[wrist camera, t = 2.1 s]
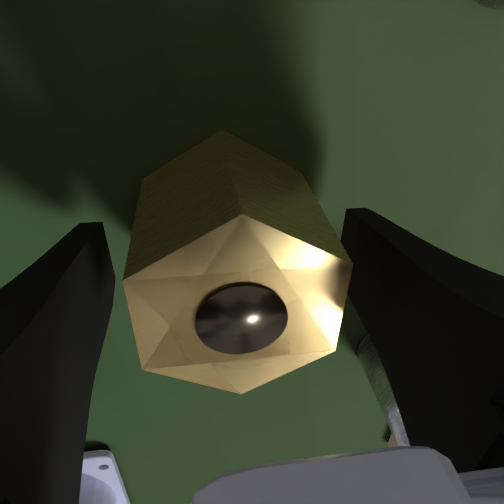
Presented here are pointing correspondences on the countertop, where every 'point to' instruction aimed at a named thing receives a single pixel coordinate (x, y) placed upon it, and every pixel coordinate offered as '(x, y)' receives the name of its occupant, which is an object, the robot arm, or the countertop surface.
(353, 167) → the countertop surface
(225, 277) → the brass nut
